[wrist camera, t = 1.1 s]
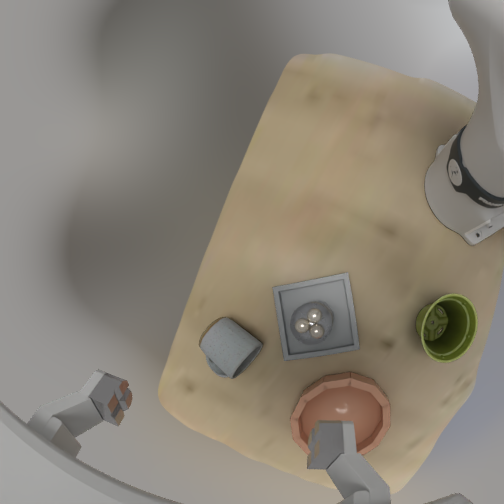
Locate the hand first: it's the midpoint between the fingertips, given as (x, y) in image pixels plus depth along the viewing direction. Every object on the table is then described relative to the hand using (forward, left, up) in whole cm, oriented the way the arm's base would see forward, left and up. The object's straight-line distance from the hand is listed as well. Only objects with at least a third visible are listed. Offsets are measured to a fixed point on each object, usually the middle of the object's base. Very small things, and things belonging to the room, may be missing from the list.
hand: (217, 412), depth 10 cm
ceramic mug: (+14, +3, -35) cm, 37 cm away
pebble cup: (-1, -1, -34) cm, 34 cm away
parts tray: (-1, -1, -34) cm, 34 cm away
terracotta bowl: (-3, +17, -34) cm, 39 cm away
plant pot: (-20, +4, -35) cm, 40 cm away
